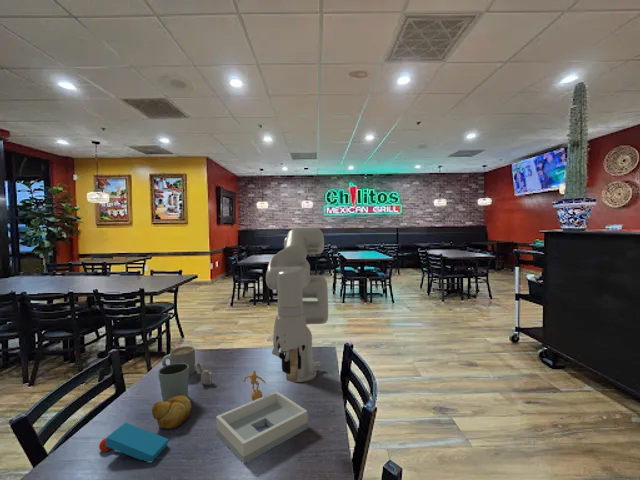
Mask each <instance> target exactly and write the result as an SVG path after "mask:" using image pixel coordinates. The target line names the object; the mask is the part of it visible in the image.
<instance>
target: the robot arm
mask: <svg viewBox="0 0 640 480" xmlns="http://www.w3.org/2000/svg"><path fill="white" fill-rule="evenodd" d="M324 250H325V238H324V233H323V231H322V230H321V229H320V228H319V227H295V228H292V229H291V230H289V231H288V232H287V235H286V237H285V238H284V240H283V249H282V250H280V251H279V252H277V253H276V254H274V255H273V256H271V258H270V259H269V262H268V265H267V270H266V273H265V283H266V286H267V287H268V289H270V290H272V291H273V290H274V291H277V313H278V314H277V315H276V316H275V319H274V326H273V334H272V335H273V337H272V340H273V341H272V342H273V343H272V344H273V345H272V346H273V349H272V351H271V354H272V355H274V356H276V357H277V358H279V359H280V360H281V370H282V372H283V373H285V374H286V373H287V374H290V361H289V360H288V359H289V350H292V349H294V348H297V347H298V380H296V381H293V382H295V383H307V382H310V381H312V380H314V379H315V378H316V377H317V371H316V370H315V369H316V368H317V367H321V366H322V363H321V361H320V360H319V361H315V360H313V335H312V330H311V329H310V328H309V327H308V326H307V325H324V324H326V323H328V321H329V293H328V292H329V290H328V283H327V279H326V278H325V277H324V276H322V275H311V265H310V263H309V262H308V260H307V257H308V256H307V255H321V254H322V253H323V252H324ZM303 299H316V300H313V301H312V300H311V301H310V300H304V301H303Z"/></svg>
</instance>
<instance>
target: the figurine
mask: <svg viewBox="0 0 640 480" xmlns="http://www.w3.org/2000/svg"><path fill="white" fill-rule="evenodd" d="M248 378H249V379H250V384H251V386H252V393H251V395H250V397H251V400H252V401H254V400H256V399H259V398H261V397H263V392H262V391H261V390H260V389H259V387H260V383H259V381H258V380H261V381H262V382H263V383H264V384H265V385H266V384H267V383H266V381H265V380H264V379H263V378H262V377H260V376H259V375H257V373H256V370H253V371H252V373H251V374H249V375H247V376H245V377H244V380H243V383H246V381H247V379H248ZM257 379H258V380H257ZM255 385H256V387H255ZM255 388H256V389H255Z"/></svg>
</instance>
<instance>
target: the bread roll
mask: <svg viewBox="0 0 640 480" xmlns="http://www.w3.org/2000/svg"><path fill="white" fill-rule="evenodd" d="M191 412H192V402H191V400H190V399H189V397H188V398H187V397H186V396H182V395H180V396H174V397H172V398H170V399H169V400H167V401H162V400H161V401H157V402H155V403H154V404H153V406H152V408H151V414H152V417H153V419H154V420H156V422H157V425H158V426H159V427H160V428H163V429H165V430H166V429H168V430H169V429H175V428H177V427H179V426H180V425H181V424H182V423H183V422H184V421H186V419H187V418H188V417H189V416H190V414H191Z"/></svg>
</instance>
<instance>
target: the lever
mask: <svg viewBox="0 0 640 480" xmlns="http://www.w3.org/2000/svg"><path fill="white" fill-rule="evenodd" d="M168 445H169V438H166V437H165V436H162V435H159V434H157V433H154V432H152V431H149V430H146V429H144V428H141V427H139V426H136V425H133V424H132V423H129V422H124V423H123V424H122V425H120V426H119V427H118V428H116V429H115V430H114V431H113V432H111V433H110V434H109V435H107V437H105V438H103V439H102V440H101V441H100V443H99V445H98V448H99V450H100V451H101V452H104V451H105V452H107V450H108V451H110V450H111V449H113V450H115V451H117V452H119V453H120V452H121V453H122V454H125V455H127V456H130V457H131V458H134V459H137V460H140V461H142V460H144V461H152V462H153V461H155V460H156V458H157V457H158V456H159V455H160V454H161V453H162V452H163V451H164V450H165V449H166V448H167V446H168ZM109 449H110V450H109ZM163 449H164V450H163ZM162 450H163V451H162ZM161 451H162V452H161ZM160 452H161V453H160ZM158 454H159V455H158ZM144 461H143V462H144Z"/></svg>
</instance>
